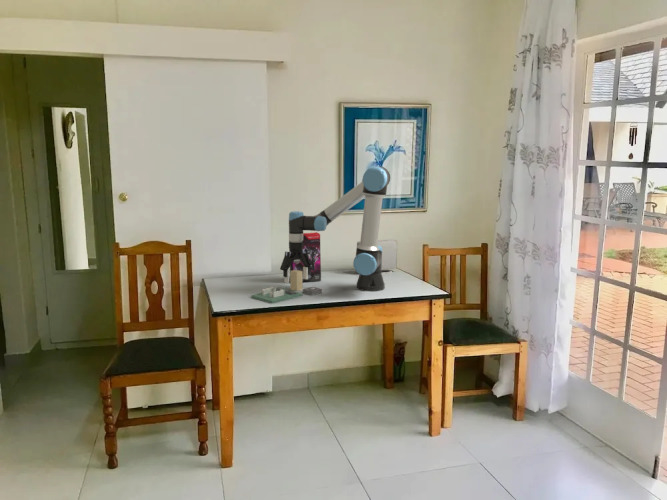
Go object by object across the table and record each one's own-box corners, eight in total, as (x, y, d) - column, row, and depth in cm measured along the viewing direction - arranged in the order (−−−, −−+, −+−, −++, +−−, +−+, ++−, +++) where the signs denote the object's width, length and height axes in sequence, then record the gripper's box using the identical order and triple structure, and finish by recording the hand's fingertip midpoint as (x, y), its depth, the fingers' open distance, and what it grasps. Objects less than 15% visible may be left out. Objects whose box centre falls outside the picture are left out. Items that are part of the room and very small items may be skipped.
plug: (302, 289, 282) (302, 271, 280) (296, 291, 279) (296, 272, 278) (295, 287, 286) (295, 269, 284) (289, 289, 283) (289, 270, 281)
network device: (360, 275, 316) (361, 242, 313) (354, 273, 324) (354, 240, 321) (398, 272, 326) (399, 240, 323) (391, 269, 334) (392, 238, 331)
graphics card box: (292, 283, 296) (291, 235, 291) (288, 281, 302) (288, 233, 298) (321, 281, 302) (321, 233, 297) (317, 278, 308) (317, 232, 304)
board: (302, 295, 269) (302, 288, 269) (272, 303, 255) (272, 295, 254) (281, 290, 280) (281, 283, 279) (251, 297, 265) (251, 290, 265)
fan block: (322, 292, 276) (322, 288, 275) (312, 295, 271) (312, 290, 270) (312, 290, 281) (312, 285, 280) (302, 292, 275) (302, 288, 275)
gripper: (308, 238, 290) (308, 276, 293) (273, 242, 271) (273, 283, 275) (318, 239, 285) (317, 278, 288) (282, 244, 266) (283, 286, 270)
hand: (296, 281), depth 282 cm, fingers open, 13 cm apart
